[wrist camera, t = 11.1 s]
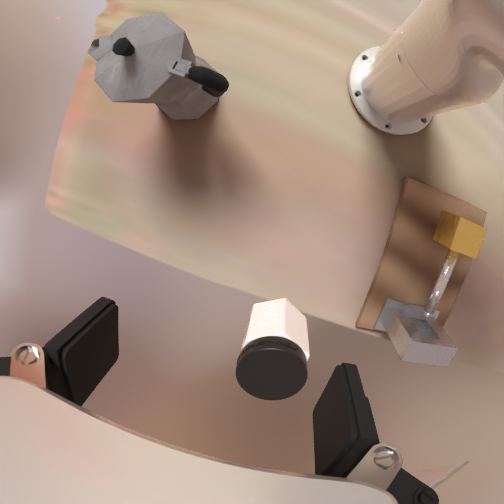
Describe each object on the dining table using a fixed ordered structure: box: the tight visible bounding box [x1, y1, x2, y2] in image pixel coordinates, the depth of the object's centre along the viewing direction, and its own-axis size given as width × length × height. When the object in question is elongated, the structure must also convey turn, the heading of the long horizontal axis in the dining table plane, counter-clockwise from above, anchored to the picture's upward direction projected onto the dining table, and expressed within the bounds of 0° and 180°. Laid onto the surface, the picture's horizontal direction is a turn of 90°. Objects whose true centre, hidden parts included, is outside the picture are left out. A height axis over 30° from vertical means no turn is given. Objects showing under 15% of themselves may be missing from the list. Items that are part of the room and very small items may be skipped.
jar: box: [236, 298, 310, 400], centre depth 37 cm, size 9×8×12 cm
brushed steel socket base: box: [373, 297, 458, 367], centre depth 34 cm, size 5×10×10 cm, turn 77°
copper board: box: [356, 177, 487, 333], centre depth 37 cm, size 22×15×1 cm
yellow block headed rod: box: [423, 210, 486, 318], centre depth 31 cm, size 14×5×5 cm, turn 167°
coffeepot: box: [88, 12, 229, 120], centre depth 25 cm, size 15×9×18 cm, turn 63°
